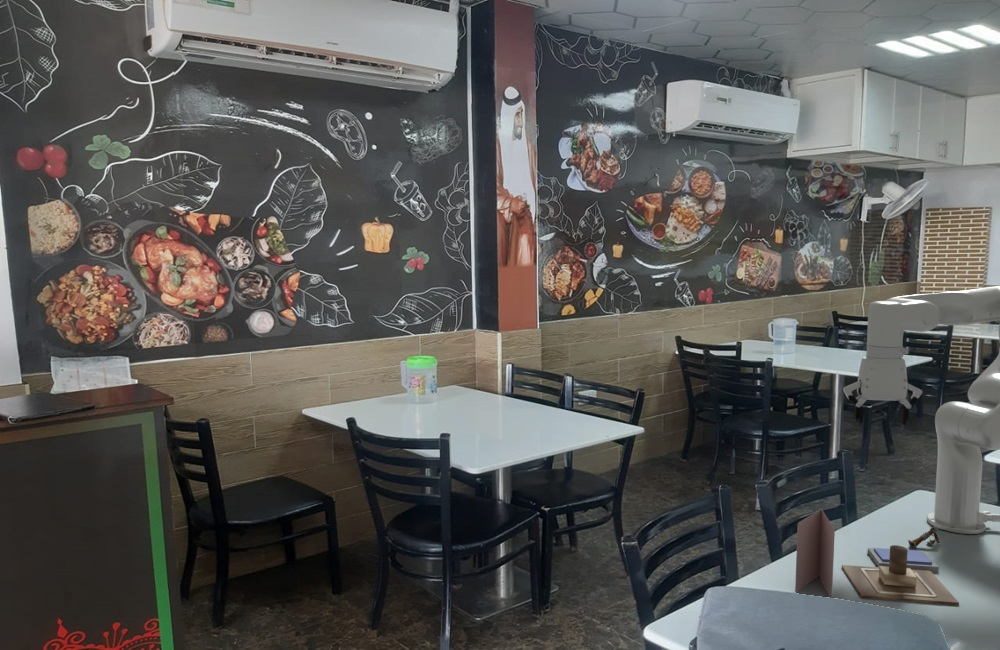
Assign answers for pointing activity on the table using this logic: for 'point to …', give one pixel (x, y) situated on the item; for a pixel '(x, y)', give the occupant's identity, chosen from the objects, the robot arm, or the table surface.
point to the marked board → (874, 588)
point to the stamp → (897, 569)
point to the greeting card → (815, 551)
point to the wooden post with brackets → (924, 537)
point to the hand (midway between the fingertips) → (880, 422)
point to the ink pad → (914, 559)
